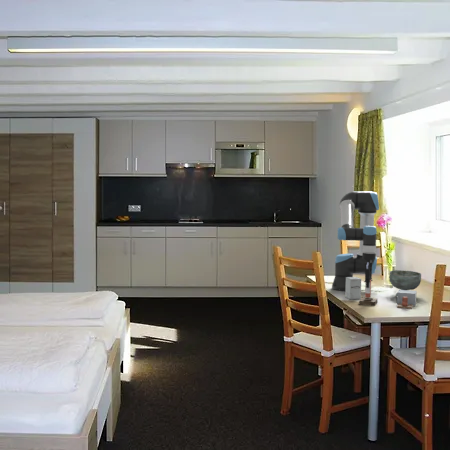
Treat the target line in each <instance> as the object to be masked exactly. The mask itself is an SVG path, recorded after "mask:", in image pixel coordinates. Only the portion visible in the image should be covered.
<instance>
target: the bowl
mask: <svg viewBox="0 0 450 450" xmlns="http://www.w3.org/2000/svg"><path fill="white" fill-rule="evenodd" d="M388 279H389V282H390V284H391V286H393V287H394V288H396V289H397V290H411V291H415V289H417V288H418V287H419V286H420V284H421V282H422V273H421V272H418V271H412V270H398V269H396V270H395V269H394V270H390V271H389V276H388ZM395 297H397V293H396V294H395Z"/></svg>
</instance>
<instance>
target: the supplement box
mask: <svg viewBox="0 0 450 450" xmlns="http://www.w3.org/2000/svg"><path fill="white" fill-rule="evenodd" d="M344 292H345V294H344V295H345V296H344V297H345V298H346V299H348V300H360V299H361V298H362V296H361V295H362V278H360V277H358V276H356V277H355V276H353V277H346V289H345V291H344Z"/></svg>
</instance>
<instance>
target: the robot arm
mask: <svg viewBox="0 0 450 450" xmlns="http://www.w3.org/2000/svg"><path fill="white" fill-rule="evenodd" d="M379 204H380V203H379V196H378V193H377V192H375V191H350V192H348V193H345V195H343V197H342V198H341V199H340V202H339V205H338V206H339V210H340V227H338V228H337V240H339V241H359V251H358V252H356V255H354V253H340V254H337V255H336V256H335V260H334V264H335V267H334V278H333V282H332V284H331V289H332V290H334V291H341V292H343V291H344V292H345V289H346V277H354V274H355V275H358V274H359V275H364V281H363V282H364V284H365V286H364V287H365V292H364V294H365V293H370V280H371V282H373V274H375V273H376V269H377V263H378V256H376V255H377V254H376V252H377V234H378V233H377V226H374V224H375V222H374V221H375V215H376V214H377V211H379V210H380V205H379ZM354 210H357V212H358V214H359V215H360V219H359V221H360V223H359V227H354Z"/></svg>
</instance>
